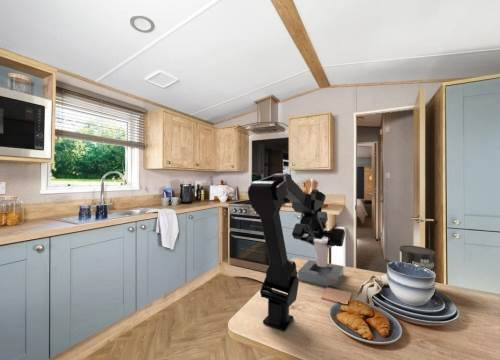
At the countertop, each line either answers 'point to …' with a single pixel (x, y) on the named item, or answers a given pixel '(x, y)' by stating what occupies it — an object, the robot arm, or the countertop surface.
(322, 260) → the smoothie
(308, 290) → the countertop surface
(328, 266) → the socket block
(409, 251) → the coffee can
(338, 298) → the tile
